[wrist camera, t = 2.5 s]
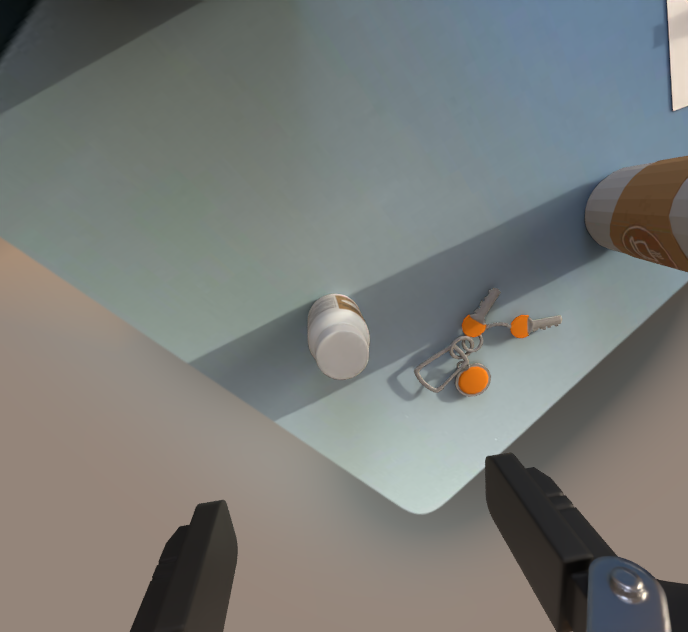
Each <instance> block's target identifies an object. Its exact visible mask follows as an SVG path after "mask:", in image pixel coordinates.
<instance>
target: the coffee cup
mask: <svg viewBox="0 0 688 632" xmlns="http://www.w3.org/2000/svg"><path fill="white" fill-rule="evenodd" d="M585 223H586V228H587V230H588V232H589V233H590V235H591V236H592V237H593V239H594V240H595V241H596V242H597V243H598V244H599V245H601V246H603V247H605V248H608V249H611V250H615V251H618V252H622V253H625V254H628V255H630V256H633V257H636V258H639V259H643V260H646V261H650V262H653V263H657V264H660V265H664V266H668V267H671V268H675V269H678V270H682V271H685V272H688V156H684V157H678V158H672V159H666V160H660V161H657V162H655V163H649V164H643V165H637V166H631V167H625V168H622V169H619V170H617V171H615V172H613V173H612V174H610V175H609V176H608V177H606V178H605V179H604V180H603V181H601V182H600V183H599V184H598V185H597V187H596V188H595V189H594V190H593V192H592V193H591V195H590V197H589V199H588V202H587V205H586V209H585Z"/></svg>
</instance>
